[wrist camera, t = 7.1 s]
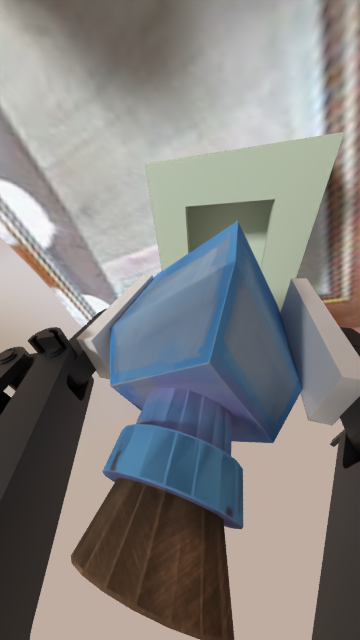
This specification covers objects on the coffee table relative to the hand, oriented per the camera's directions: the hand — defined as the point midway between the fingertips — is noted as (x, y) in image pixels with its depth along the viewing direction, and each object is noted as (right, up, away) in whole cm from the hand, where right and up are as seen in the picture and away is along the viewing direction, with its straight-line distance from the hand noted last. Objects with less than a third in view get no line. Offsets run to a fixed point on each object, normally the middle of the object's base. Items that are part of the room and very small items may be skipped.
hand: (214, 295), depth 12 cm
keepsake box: (+4, +10, +12) cm, 17 cm away
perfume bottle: (0, +1, +1) cm, 1 cm away
